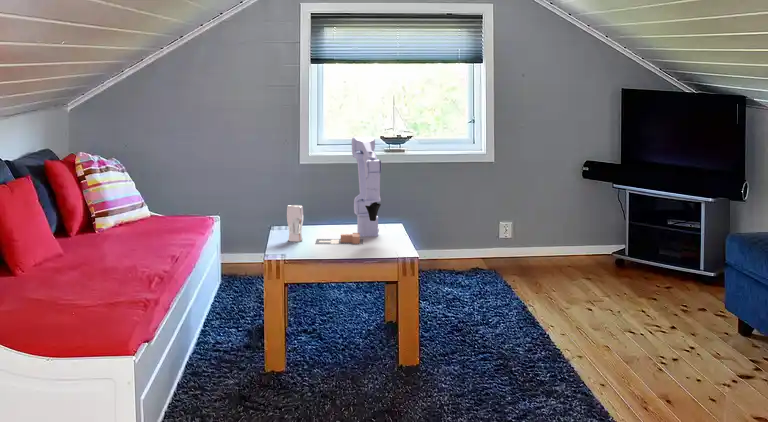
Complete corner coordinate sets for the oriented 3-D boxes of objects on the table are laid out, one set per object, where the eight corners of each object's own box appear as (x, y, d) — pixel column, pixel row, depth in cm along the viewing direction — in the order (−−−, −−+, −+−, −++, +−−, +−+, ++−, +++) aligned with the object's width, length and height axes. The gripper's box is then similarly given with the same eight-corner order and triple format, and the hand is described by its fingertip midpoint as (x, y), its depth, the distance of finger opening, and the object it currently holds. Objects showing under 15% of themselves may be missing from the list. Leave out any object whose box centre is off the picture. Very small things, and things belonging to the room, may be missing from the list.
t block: (359, 239, 320) (359, 232, 320) (359, 243, 311) (359, 236, 311) (341, 239, 320) (341, 232, 319) (340, 243, 311) (340, 236, 311)
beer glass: (290, 242, 314) (290, 207, 312) (284, 239, 320) (284, 205, 318) (305, 241, 317) (305, 206, 315) (300, 238, 324) (299, 204, 321)
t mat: (363, 239, 322) (363, 239, 322) (363, 245, 310) (363, 244, 310) (316, 239, 321) (316, 238, 321) (314, 245, 309) (314, 244, 309)
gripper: (369, 186, 321) (369, 217, 323) (358, 190, 307) (357, 222, 309) (385, 187, 318) (385, 218, 320) (374, 190, 305) (374, 223, 307)
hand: (372, 220), depth 315 cm, fingers closed
